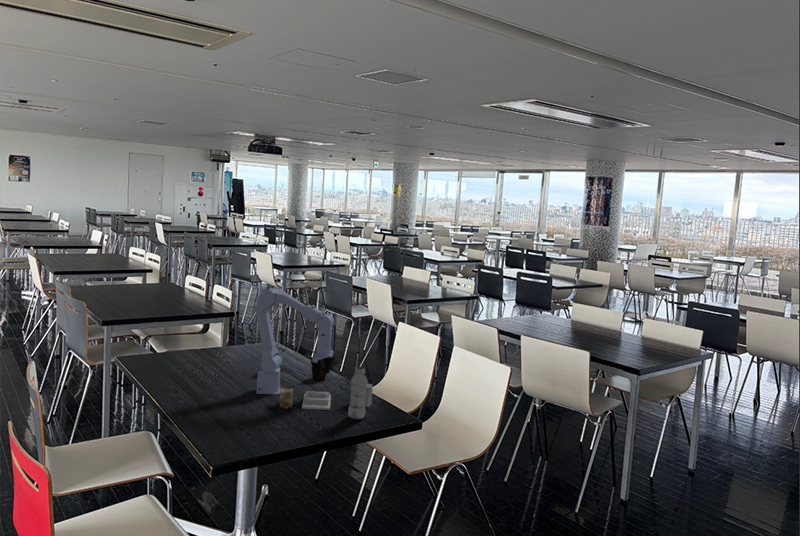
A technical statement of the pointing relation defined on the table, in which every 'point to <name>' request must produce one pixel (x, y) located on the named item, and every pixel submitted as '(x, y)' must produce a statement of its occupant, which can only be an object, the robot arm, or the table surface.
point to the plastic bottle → (358, 394)
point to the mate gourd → (321, 372)
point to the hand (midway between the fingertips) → (322, 375)
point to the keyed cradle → (316, 400)
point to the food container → (283, 354)
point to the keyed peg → (286, 398)
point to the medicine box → (368, 395)
